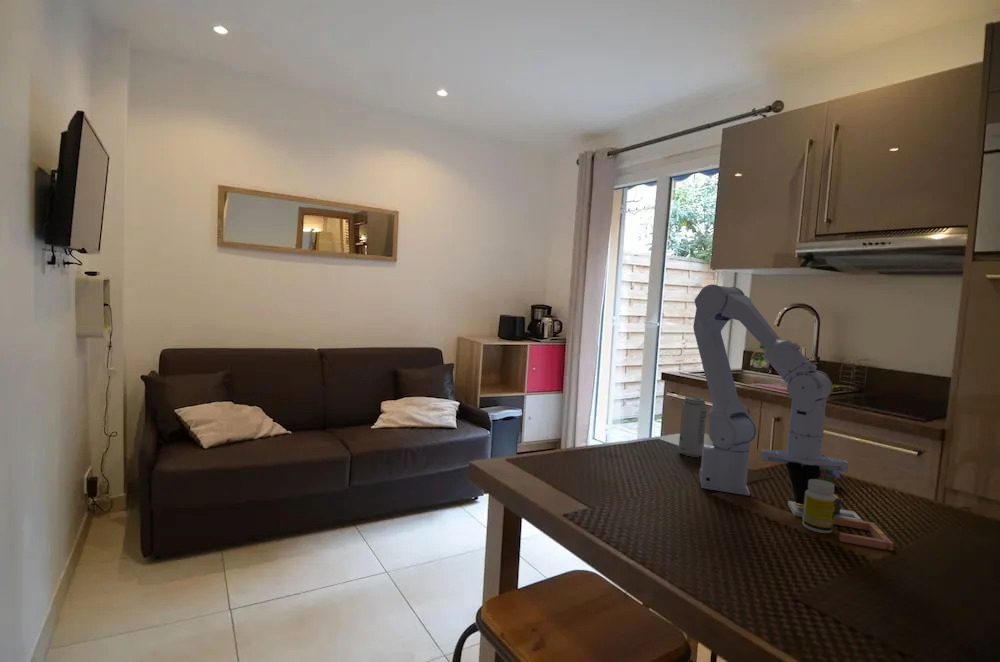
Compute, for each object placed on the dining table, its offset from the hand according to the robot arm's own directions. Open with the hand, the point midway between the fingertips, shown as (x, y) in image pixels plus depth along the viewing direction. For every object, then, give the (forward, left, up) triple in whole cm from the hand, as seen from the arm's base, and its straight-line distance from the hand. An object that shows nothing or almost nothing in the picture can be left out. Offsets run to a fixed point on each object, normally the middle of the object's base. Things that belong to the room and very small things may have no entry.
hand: (799, 502), depth 100 cm
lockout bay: (+8, -7, -2) cm, 11 cm away
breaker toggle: (+5, 0, -1) cm, 5 cm away
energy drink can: (-19, +31, -2) cm, 36 cm away
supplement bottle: (+1, -7, -2) cm, 8 cm away
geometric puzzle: (+9, +22, -2) cm, 24 cm away
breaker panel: (+4, 0, -2) cm, 5 cm away
